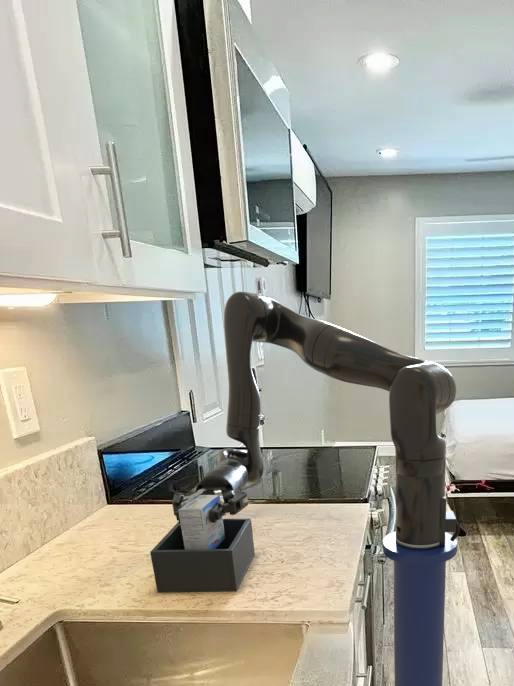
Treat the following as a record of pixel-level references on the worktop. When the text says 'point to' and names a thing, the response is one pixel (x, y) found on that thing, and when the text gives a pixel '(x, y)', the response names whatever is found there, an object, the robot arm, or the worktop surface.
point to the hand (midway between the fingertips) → (196, 517)
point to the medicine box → (201, 524)
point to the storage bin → (204, 561)
